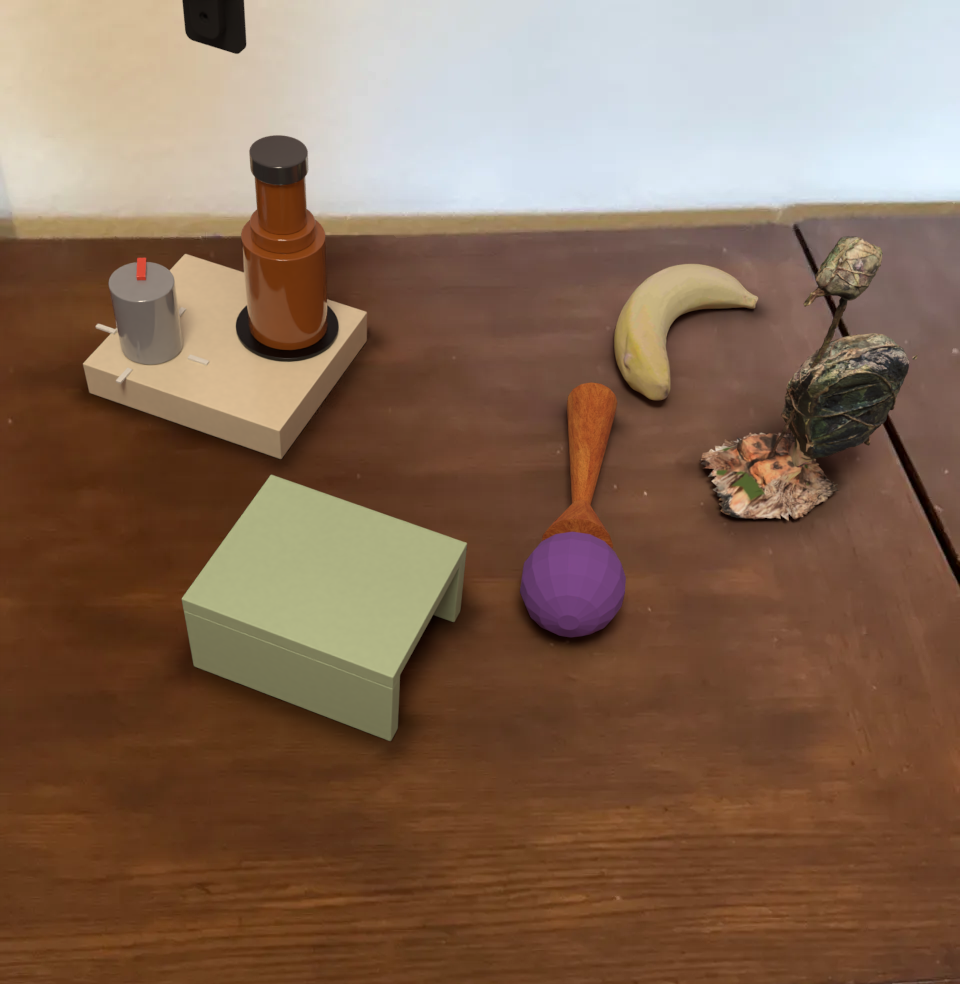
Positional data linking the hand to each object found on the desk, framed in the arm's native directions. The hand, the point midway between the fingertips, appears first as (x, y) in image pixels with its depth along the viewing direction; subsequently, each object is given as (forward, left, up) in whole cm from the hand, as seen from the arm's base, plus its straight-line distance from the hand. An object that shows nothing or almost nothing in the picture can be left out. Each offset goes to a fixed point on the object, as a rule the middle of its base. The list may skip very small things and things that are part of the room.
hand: (261, 4), depth 67 cm
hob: (-3, -2, -24) cm, 24 cm away
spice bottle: (0, 0, -21) cm, 21 cm away
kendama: (+23, -6, -24) cm, 34 cm away
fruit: (+24, +14, -24) cm, 37 cm away
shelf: (+13, -20, -24) cm, 34 cm away
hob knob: (-7, -5, -21) cm, 23 cm away
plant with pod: (+34, +4, -24) cm, 42 cm away
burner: (0, 0, -21) cm, 22 cm away
